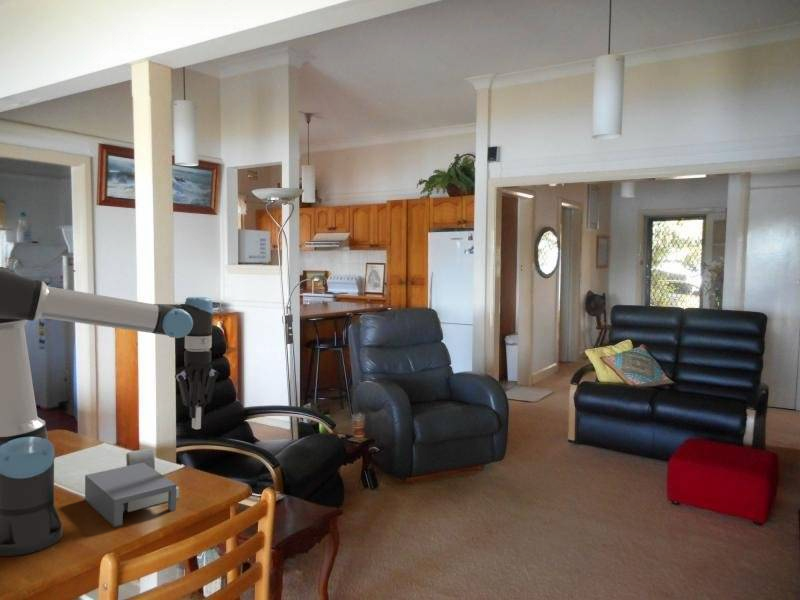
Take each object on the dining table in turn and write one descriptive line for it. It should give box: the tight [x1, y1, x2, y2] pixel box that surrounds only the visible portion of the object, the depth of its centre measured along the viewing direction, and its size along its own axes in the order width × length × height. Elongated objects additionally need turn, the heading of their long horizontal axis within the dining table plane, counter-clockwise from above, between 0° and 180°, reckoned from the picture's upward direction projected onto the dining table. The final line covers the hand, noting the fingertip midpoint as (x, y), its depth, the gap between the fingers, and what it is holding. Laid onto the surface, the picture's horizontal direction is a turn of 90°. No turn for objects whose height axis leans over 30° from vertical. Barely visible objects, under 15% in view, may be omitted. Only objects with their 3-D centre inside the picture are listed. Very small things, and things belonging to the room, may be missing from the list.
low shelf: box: [84, 463, 177, 528], centre depth 159 cm, size 16×22×7 cm
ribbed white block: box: [123, 485, 180, 513], centre depth 163 cm, size 14×9×3 cm, turn 136°
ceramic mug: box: [125, 447, 156, 471], centre depth 181 cm, size 11×8×8 cm
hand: (196, 427), depth 172 cm, fingers closed
